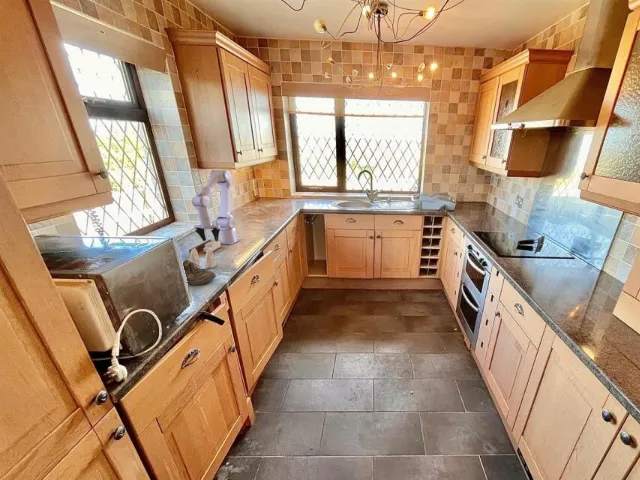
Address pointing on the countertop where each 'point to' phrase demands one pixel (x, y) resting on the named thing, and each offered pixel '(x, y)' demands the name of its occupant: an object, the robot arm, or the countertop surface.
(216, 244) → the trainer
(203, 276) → the hiking shoe
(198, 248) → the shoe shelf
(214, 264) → the shaker set
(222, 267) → the countertop surface
